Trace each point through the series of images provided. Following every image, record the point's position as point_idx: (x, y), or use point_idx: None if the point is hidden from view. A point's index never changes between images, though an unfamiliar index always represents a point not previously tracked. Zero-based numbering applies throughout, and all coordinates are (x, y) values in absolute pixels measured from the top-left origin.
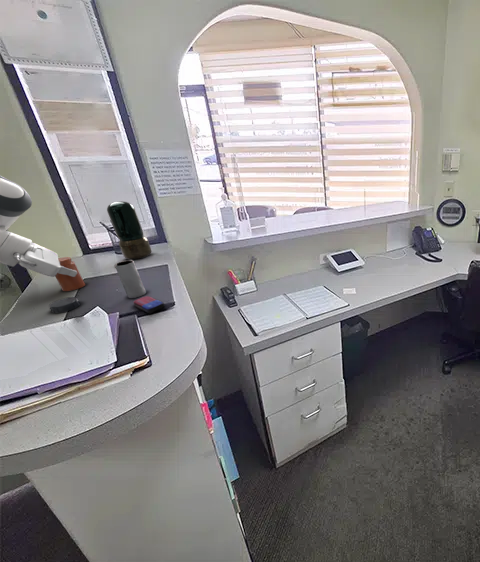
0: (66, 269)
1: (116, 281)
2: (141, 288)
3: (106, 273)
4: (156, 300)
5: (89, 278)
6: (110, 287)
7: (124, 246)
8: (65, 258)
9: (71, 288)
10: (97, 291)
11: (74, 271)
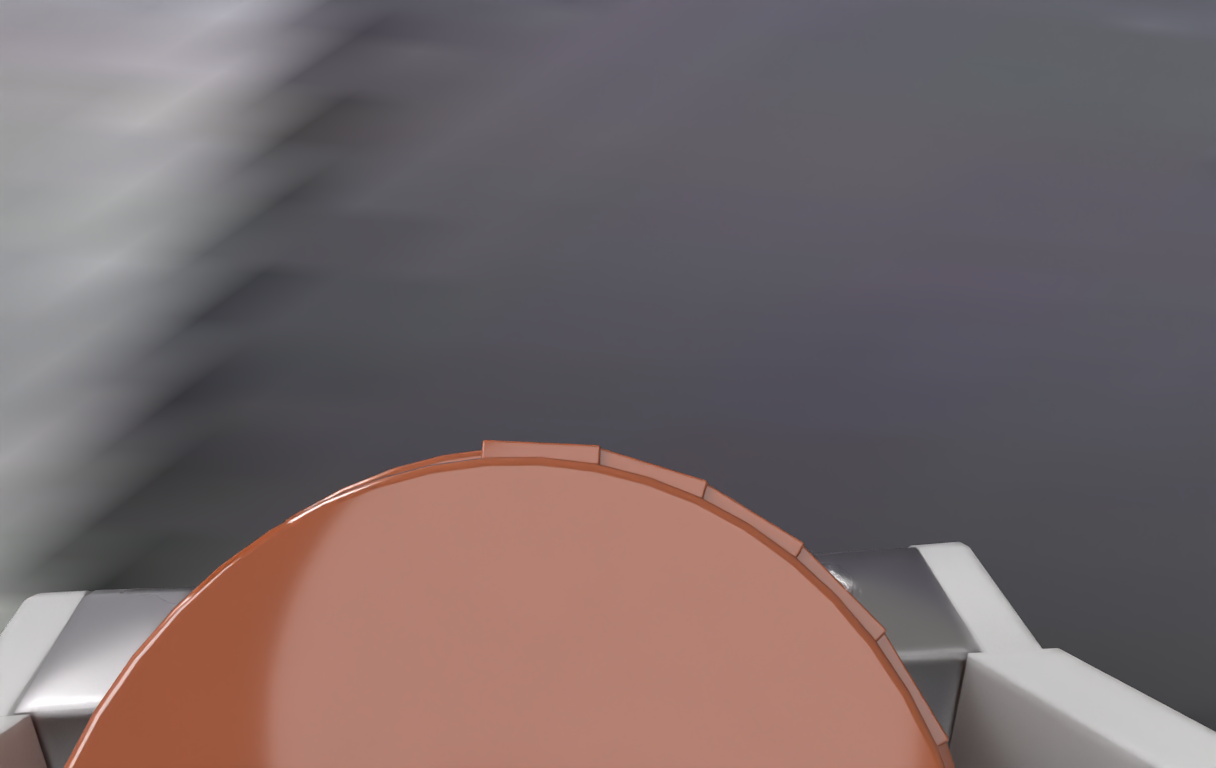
0: (1197, 753)
1: (820, 140)
2: None
3: (82, 217)
4: None
5: (116, 509)
6: (1098, 247)
7: None
8: (518, 658)
9: None
10: (1171, 433)
11: (995, 584)
